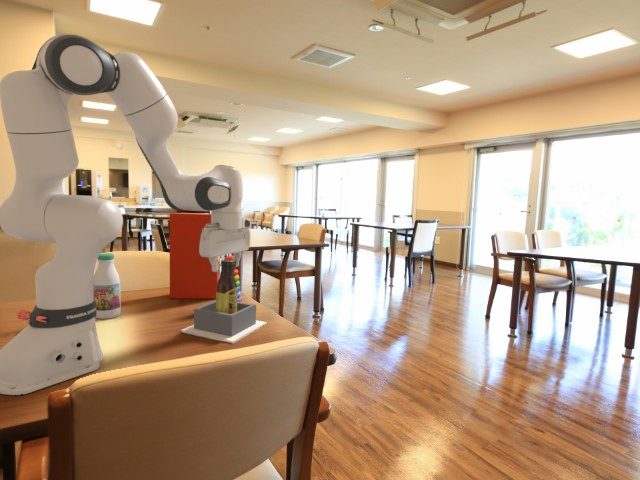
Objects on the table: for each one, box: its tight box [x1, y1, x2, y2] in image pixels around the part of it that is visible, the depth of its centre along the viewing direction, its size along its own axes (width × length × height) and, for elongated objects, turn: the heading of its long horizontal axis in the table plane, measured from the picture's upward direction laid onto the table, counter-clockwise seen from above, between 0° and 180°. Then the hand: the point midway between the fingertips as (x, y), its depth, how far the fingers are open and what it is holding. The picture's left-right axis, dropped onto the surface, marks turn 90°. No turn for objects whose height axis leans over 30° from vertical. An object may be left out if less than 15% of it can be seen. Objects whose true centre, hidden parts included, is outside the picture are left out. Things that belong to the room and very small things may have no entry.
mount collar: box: [180, 300, 268, 345], centre depth 116 cm, size 18×18×7 cm
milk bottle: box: [94, 252, 122, 320], centre depth 122 cm, size 8×8×20 cm
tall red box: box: [168, 212, 221, 300], centre depth 147 cm, size 8×17×32 cm, turn 97°
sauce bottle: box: [215, 259, 238, 314], centre depth 116 cm, size 7×6×20 cm
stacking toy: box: [223, 255, 243, 302], centre depth 136 cm, size 8×8×19 cm
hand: (225, 268), depth 114 cm, fingers open, 8 cm apart
